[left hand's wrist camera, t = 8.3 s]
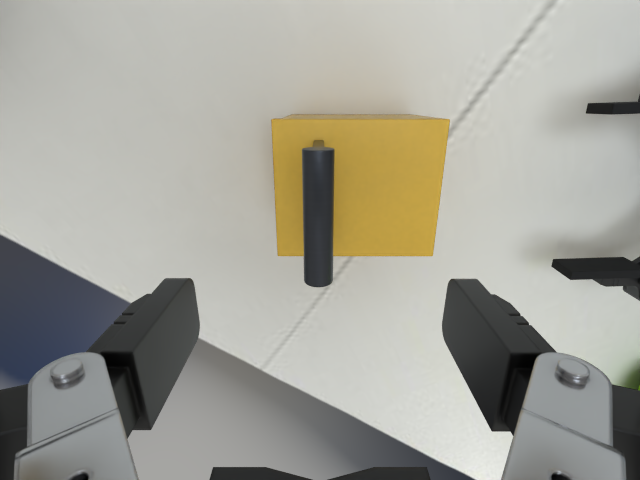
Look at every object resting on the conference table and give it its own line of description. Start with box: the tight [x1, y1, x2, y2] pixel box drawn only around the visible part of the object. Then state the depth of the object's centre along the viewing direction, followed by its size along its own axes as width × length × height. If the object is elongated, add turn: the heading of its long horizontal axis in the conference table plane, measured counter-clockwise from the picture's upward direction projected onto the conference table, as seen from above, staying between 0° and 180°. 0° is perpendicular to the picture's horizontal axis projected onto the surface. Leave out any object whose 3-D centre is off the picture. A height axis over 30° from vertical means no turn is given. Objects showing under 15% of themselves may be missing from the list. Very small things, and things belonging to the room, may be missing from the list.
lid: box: [271, 119, 450, 287], centre depth 23 cm, size 12×10×8 cm
